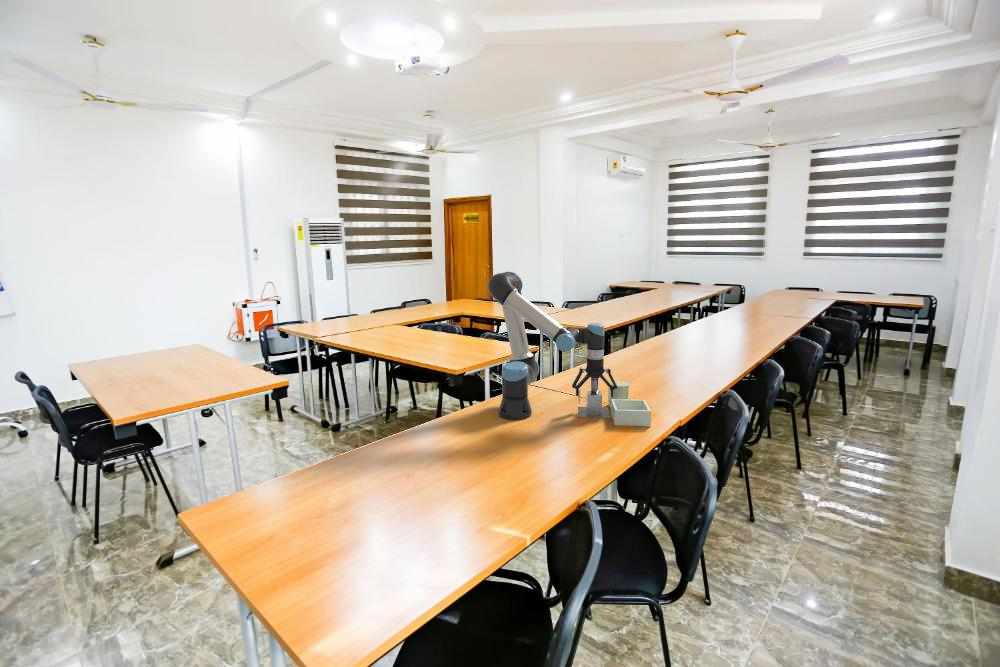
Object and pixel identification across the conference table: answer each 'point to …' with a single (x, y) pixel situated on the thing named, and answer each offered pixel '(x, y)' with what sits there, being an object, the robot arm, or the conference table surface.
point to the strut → (594, 399)
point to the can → (620, 390)
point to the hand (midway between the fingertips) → (594, 403)
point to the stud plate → (583, 413)
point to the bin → (630, 412)
